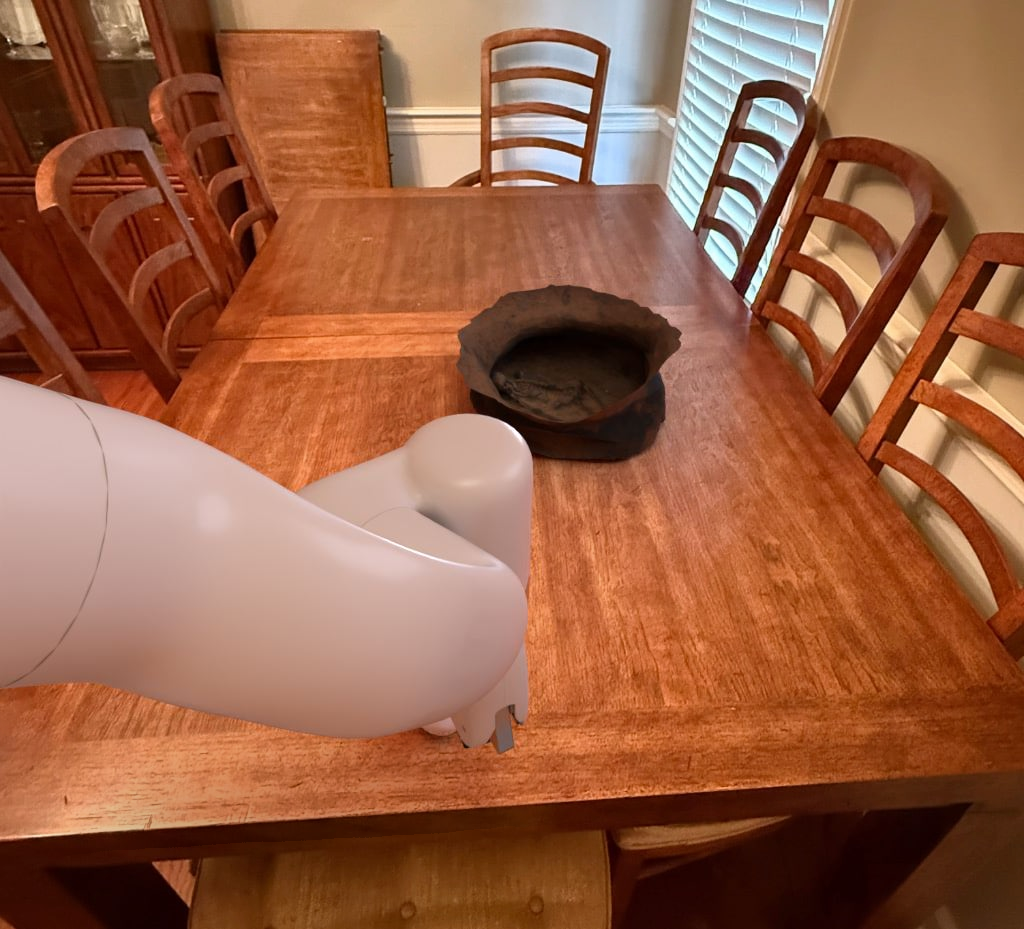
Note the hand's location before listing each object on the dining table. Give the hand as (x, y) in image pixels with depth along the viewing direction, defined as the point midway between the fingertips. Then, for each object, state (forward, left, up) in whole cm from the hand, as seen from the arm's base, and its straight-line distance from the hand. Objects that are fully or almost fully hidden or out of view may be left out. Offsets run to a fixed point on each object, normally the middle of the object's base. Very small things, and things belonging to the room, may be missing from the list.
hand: (478, 733), depth 57 cm
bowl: (+37, +50, -10) cm, 63 cm away
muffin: (0, +8, -10) cm, 13 cm away
